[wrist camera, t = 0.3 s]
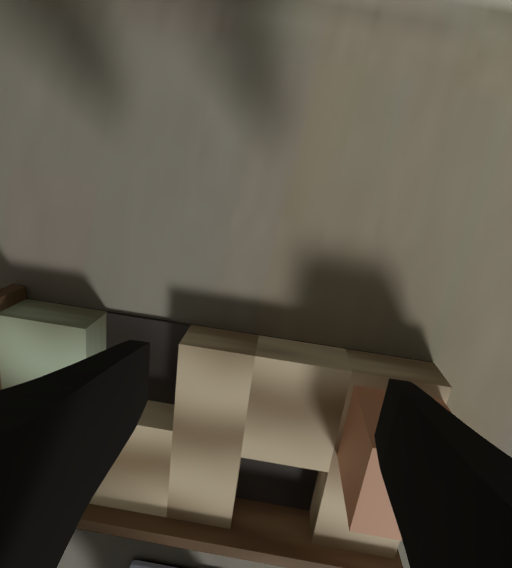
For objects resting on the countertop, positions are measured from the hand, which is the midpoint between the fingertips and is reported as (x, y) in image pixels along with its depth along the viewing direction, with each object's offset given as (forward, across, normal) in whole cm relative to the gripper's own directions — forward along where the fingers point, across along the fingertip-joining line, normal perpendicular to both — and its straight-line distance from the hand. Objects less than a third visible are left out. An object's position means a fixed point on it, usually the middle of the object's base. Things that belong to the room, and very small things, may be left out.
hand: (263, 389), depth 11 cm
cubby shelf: (+10, +3, +9) cm, 14 cm away
